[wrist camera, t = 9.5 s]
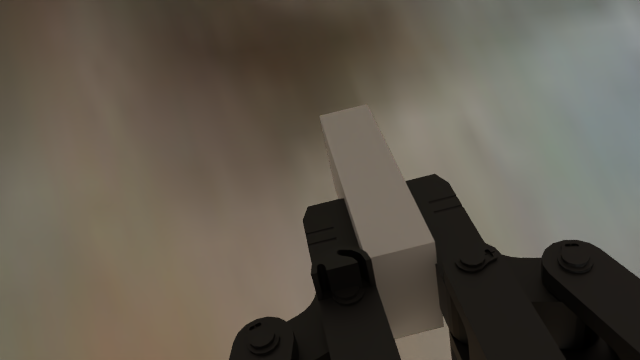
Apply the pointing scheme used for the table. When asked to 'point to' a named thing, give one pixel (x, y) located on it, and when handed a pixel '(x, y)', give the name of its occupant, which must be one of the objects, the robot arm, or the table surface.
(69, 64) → the table surface
